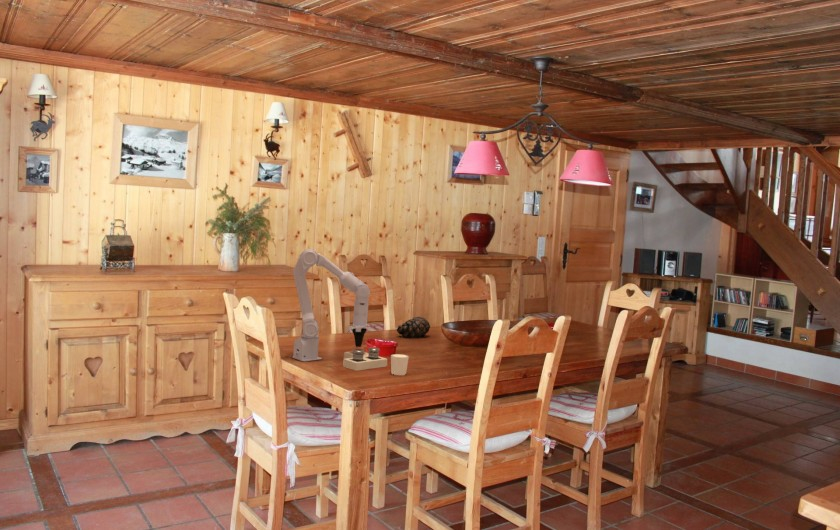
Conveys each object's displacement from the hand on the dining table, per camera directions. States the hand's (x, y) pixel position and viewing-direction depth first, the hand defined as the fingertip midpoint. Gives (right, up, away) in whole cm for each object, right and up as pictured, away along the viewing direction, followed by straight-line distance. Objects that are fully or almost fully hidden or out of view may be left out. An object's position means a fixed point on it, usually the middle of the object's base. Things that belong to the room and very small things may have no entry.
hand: (358, 346), depth 291 cm
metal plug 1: (+1, -5, -12) cm, 13 cm away
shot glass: (+17, -9, -17) cm, 25 cm away
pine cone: (+22, -3, +62) cm, 66 cm away
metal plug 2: (+6, -4, -6) cm, 10 cm away
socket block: (0, -6, -6) cm, 8 cm away
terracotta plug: (0, -4, 0) cm, 4 cm away
